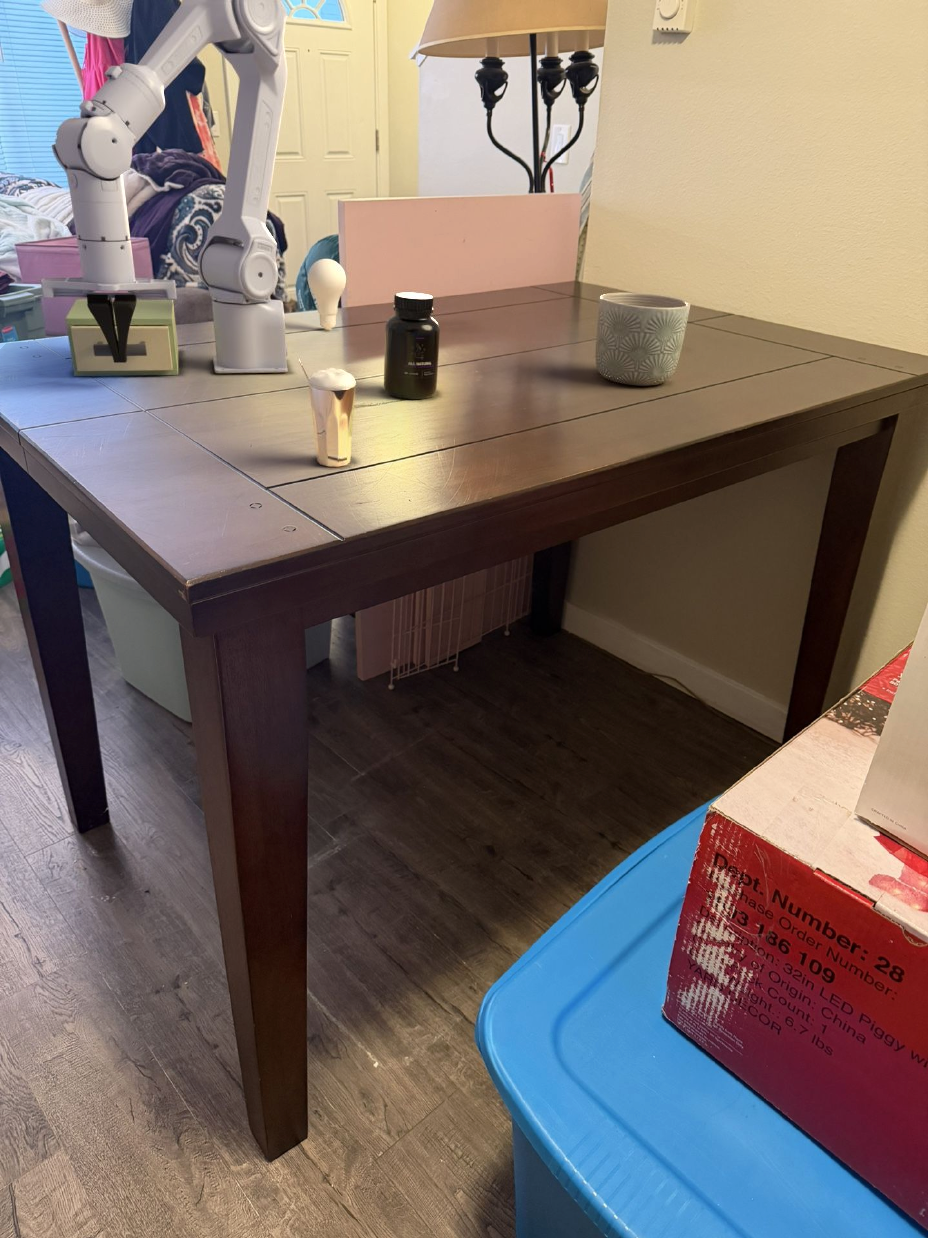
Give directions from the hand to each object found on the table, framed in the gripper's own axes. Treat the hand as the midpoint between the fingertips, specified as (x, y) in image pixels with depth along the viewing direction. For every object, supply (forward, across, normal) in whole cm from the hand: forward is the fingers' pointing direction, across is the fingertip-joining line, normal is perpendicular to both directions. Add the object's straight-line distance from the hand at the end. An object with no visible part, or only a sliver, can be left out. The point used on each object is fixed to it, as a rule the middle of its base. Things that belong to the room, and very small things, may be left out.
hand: (120, 360), depth 105 cm
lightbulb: (+3, +30, +35) cm, 46 cm away
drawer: (+2, 0, +9) cm, 10 cm away
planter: (+3, +69, 0) cm, 69 cm away
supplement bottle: (+4, +35, -5) cm, 36 cm away
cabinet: (+3, 0, +13) cm, 14 cm away
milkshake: (+4, +21, -30) cm, 37 cm away
